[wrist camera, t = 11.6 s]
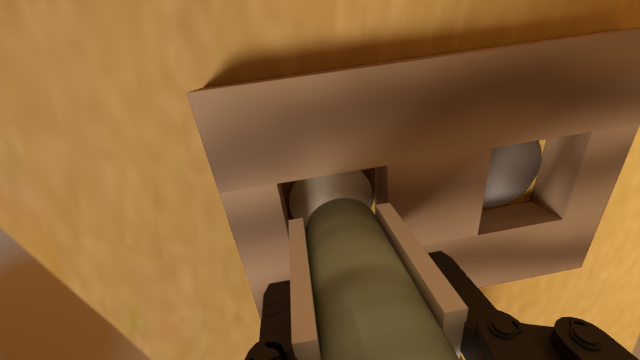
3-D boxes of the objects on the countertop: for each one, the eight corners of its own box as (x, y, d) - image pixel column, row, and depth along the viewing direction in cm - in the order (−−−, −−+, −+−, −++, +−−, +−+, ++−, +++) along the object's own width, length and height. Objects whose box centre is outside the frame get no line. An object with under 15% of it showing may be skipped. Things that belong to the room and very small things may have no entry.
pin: (377, 251, 15) (510, 524, 6) (310, 263, 15) (349, 566, 6) (374, 192, 14) (554, 449, 5) (299, 205, 13) (331, 503, 4)
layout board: (550, 246, 22) (581, 267, 20) (266, 300, 20) (264, 330, 18) (621, 28, 15) (681, 23, 13) (202, 87, 14) (185, 92, 11)
